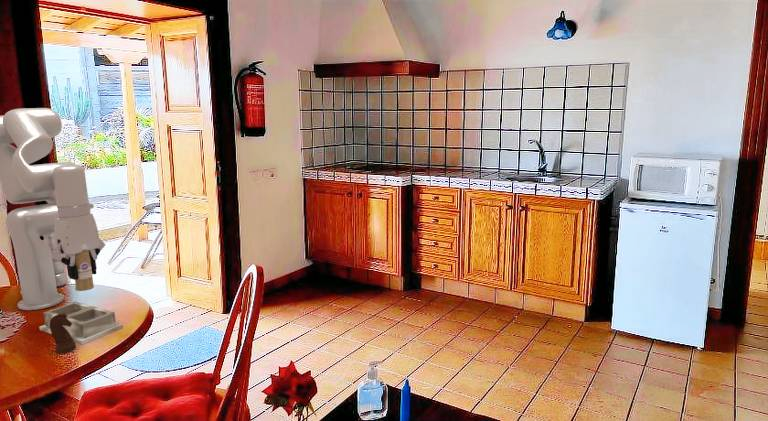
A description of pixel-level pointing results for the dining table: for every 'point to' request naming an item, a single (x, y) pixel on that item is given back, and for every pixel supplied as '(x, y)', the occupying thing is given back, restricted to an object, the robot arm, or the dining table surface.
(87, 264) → the sprinkles bottle
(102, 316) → the slot rack
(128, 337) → the dining table surface
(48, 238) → the plastic bottle
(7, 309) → the dining table surface
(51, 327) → the chess piece
